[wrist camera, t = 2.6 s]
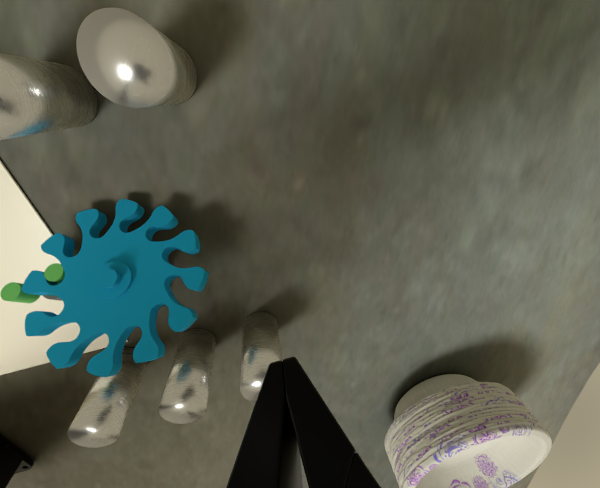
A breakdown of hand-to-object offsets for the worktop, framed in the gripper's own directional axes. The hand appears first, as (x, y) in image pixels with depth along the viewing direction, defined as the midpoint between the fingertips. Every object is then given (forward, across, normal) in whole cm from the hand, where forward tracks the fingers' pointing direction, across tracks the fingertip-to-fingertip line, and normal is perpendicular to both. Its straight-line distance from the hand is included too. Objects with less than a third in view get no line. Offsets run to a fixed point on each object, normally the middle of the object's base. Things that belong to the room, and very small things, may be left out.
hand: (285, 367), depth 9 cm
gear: (+13, +9, 0) cm, 16 cm away
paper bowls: (+13, -14, +28) cm, 34 cm away
